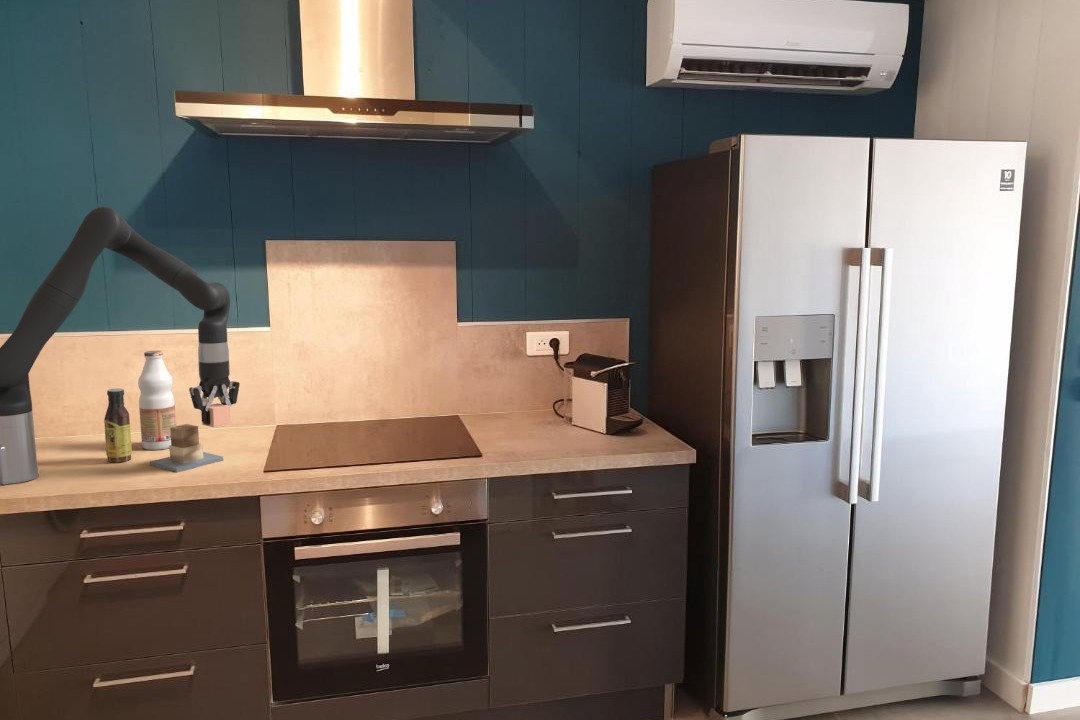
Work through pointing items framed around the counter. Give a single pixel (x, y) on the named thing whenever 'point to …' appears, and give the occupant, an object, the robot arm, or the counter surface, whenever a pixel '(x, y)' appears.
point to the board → (179, 466)
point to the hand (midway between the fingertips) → (216, 422)
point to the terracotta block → (219, 415)
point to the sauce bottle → (117, 428)
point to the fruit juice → (156, 403)
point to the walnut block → (184, 435)
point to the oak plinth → (186, 453)
